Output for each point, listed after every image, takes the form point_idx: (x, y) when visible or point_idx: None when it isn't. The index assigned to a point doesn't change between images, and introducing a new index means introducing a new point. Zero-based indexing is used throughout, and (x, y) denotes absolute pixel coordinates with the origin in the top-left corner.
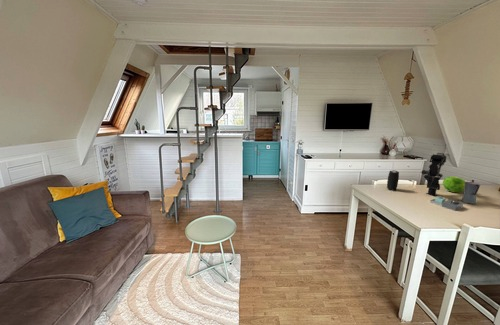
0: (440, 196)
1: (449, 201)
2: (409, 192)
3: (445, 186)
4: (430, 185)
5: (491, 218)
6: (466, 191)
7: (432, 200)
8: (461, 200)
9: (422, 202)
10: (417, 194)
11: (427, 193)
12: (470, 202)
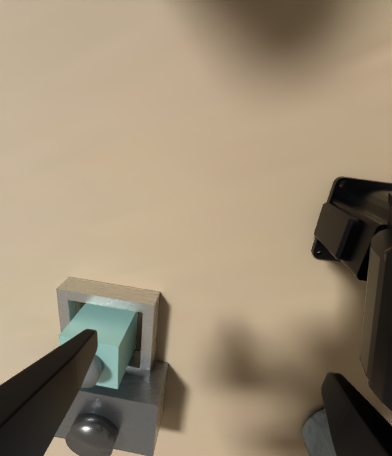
0: (93, 373)
1: (84, 405)
2: (225, 9)
3: None
4: (368, 282)
5: None
6: None
7: (70, 300)
8: None
9: (8, 242)
10: (222, 122)
11: (349, 191)
12: (307, 449)
